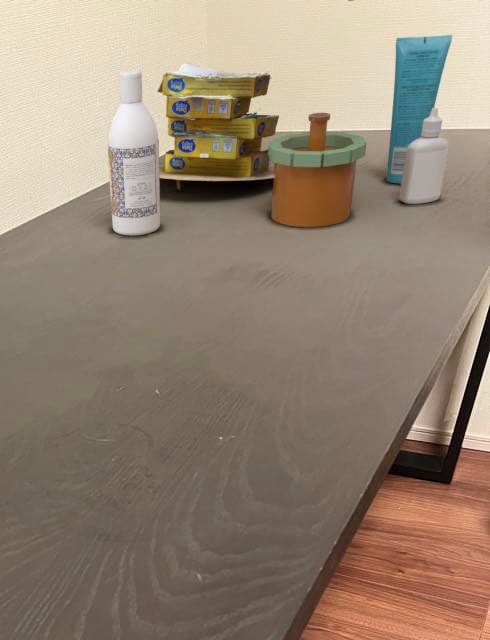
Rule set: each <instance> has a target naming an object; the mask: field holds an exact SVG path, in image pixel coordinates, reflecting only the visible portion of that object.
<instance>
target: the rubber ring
mask: <svg viewBox="0 0 490 640" xmlns="http://www.w3.org/2000/svg"><path fill="white" fill-rule="evenodd" d="M309 134H310V131H308V132H300V133H294V134H293V133H292V134H286V135H282V136H280V137H277V138H275V139H273V140H271V141H269V142H268V148H267V150H268V156H269V159H270V161H269V162H271V163H274V164H275V163H278V164H282V165H286V166H293V167H321V166H323V167H328V166H335V165H342V164H349V162H350V163H352V162H354V161H356V160H357V161H358V160H360V159H362V158H364V157H365V156H366V152H367V143H368V142H367V141H366V139H364V137H363V136H361V135H358V134H353V133H347V132H339V131H326V141H325V147H336V148H341V149H335V150H328V151H295V150H291V149H298V148H305V147H308V145H309Z"/></svg>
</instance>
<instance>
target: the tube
mask: <svg viewBox="0 0 490 640" xmlns="http://www.w3.org/2000/svg"><path fill="white" fill-rule="evenodd" d="M452 39H453V34H444V35H432V36H412V37H411V36H404V37H396V39H395V65H394V66H395V67H394V83H393V85H394V87H393V98H392V99H393V100H392V111H391V123H390V137H389V145H388V147H389V148H388V158H387V166H386V167H387V168H386V178H385V179H386V182H388V183H392V184H399V185H401V182H402V176H403V170H404V164H405V158H406V152H407V148H408V146H409V145H410V144H411V143H412V142H413V141H415V140H417V139H419V138H421V137H422V136H421V132H422V126H423V120H424V119H426V118H428V117H429V116H430V113H431V110H432V108H435V107H436V101H437V98H438V93H439V89H440V85H441V81H442V76H443V73H444V69H445V65H446V61H447V57H448V54H449V50H450V48H451V43H452Z"/></svg>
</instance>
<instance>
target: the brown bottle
mask: <svg viewBox="0 0 490 640" xmlns="http://www.w3.org/2000/svg"><path fill="white" fill-rule="evenodd" d="M330 120H331V113H330V112H329V113H328V112H313V113H310V114H309V115H308V122H310V124H309V132H310V134H309V145H308V147H305V148H298V149H291V150H295V151H328V150H335V149H341V148H336V147H325V141H326V132H328V131H327V129H328V121H330ZM357 162H358V160H356V161H354V162H352V163H350V162H349V164H342V165H335V166H328V167H323V166H321V167H293V166H286V165H282V164H278V163H274V165H273V166H274V167H273V168H274V178H272V179H273V180H272V181H273V182H272V195H271V196H272V197H271V210H270V211H271V212H270V213H271V214H270V217H271V219H272V220H273V221H275V222H276V223H278V224H281V225H285V226H289V227H297V228H320V227H329V226H332V225H333V226H334V225H337V224H340V223H343V222H345V221H347V220H348V219H349V218H350V216H351V211H352V202H353V193H354V186H355V176H356V170H357Z"/></svg>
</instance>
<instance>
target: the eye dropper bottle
mask: <svg viewBox="0 0 490 640" xmlns="http://www.w3.org/2000/svg"><path fill="white" fill-rule="evenodd" d="M442 124H443V118H440V117H439V111H438V107H434V108H432V110H431V113H430V116H429V117H428V118H426V119H424V120H423V126H422V132H421V136H422V137H421V138H419V139H417V140H415V141H413V142H412V143H411V144H410V145H409V146H408V148H407V152H406V158H405V164H404V170H403V176H402V182H401V184H400V187H399V188H400V189H399V195H398V200H399V201H400V202H401V203H403V204H406V205H419V204H420V205H421V204H427V203H428V204H429V203H431V202H435V201H438V200H439V199H440V197H441V193H442V189H443V184H444V178H445V172H446V167H447V163H448V162H447V161H448V155H449V149H450V142H449V141H448V140H447V139H445V138H443V137H440V136H441V135H440V134H441V129H442Z"/></svg>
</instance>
